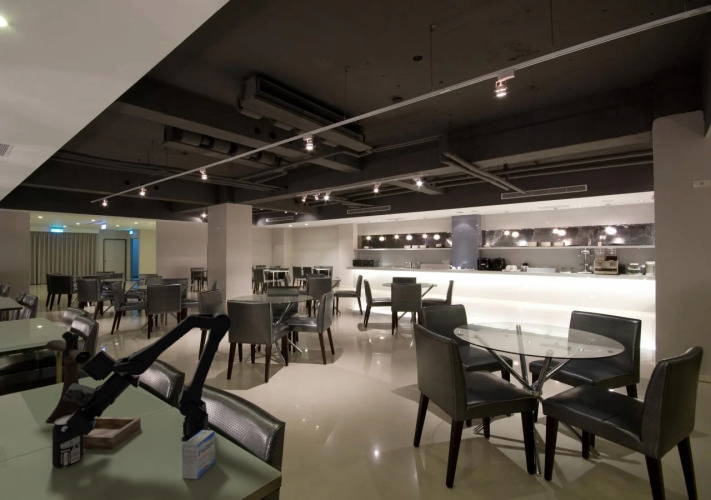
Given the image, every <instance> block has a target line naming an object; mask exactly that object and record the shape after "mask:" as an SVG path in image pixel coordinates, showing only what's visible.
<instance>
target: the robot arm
mask: <svg viewBox="0 0 711 500" xmlns="http://www.w3.org/2000/svg"><path fill="white" fill-rule="evenodd" d="M231 326H232V320H231V318H230V316H229V314H228V313H227V312H224V311H217V312H215V313H193V312H192V313H190V314H188V315H187V316H186V317H185V318H184V319H182V320H181V321H180V322H179V323H177V324H176V325H175V326H174V327H172V328H171V329H170V330H168V331H167V332H166V333H164V334H163V335H162V336H161V337H159V338H158V339H157V340H155V341H154V342H152V343H151V344H148V345H147V346H144V347H142V348H141V349H138V350H137V351H135V352H133V353H132V354H131V355H129V356H125V357H120V358H118V359H117V360H116V359H115V358H113V357H112V356H110V354H108V353H107V352H106V351H105V350H103V349H100V350H99V351H98V352H97V353H96V354H95V355H94V356H92V357H90V358H89V360H88V361H87V362H86V363H84V364H82V366H81V367H80V368H79V371H81V372H83V373H84V374H85V375H87V376H88V377H90V378H91V379H93V380H94V381H95V382H98V381H99V382H101V380H102V381H104V380H105V379H106V378H107V379H106V380H105V381H104V382H103V383H102V384H99V385H97V386H96V387H95V388H93V387H91V386H87V385H83V384H80V383H79V384H76V383H73V384H72V385H71V386H70V387H69V388H68V390H67V392H66V394H65V396H64V398H63V400H65V401H73V402H78V403H79V405H78V411H75V412H74V413H73V414H72V415H71V416H70V417H69V419H68V420H67V421H66V423H67V424H68V427H67V429H66V430H65V431H64V433H63V434H62V435H61V437H60V438H59V439H58V441H57V442H56V444H57V445H61V444H63V443H65V442H67V441H69V440H71V439H74V438H76V437H78V436H80V435H82V434H84V435H88V434H89V433H90V432H91V431H92V430H93V428H94V427H95V425H96V419H95V418H94V417H102V415H103V414H104V412H105V410H107V408H108V407H110V405H111V406H112V405H113V404H114V403H115V402H116V400H117V398H119V397H120V396H121V395H122V394H123V393H124V392H125V391H126V389H128V388H129V386H133V388H135V389H137V388H139V385H140V378H141V377H140V376H141V375H143V374H145V372H147V371H148V370H149V368H150V367H151V366H152V365H153V364H154V362H156V360H157V359H158V358H159V356H161V355H162V353H164V352H165V351H166V350H168V349H169V348H170V347H172V346H173V345H174V344H175V343H176V342H178V341H179V340H180V339H181V338H182V337H184V336H186V335H187V334H188V333H189V332H190V331H191V330H193V329H207V330H208V335H207V339H206V342H205V345H204V347H203V350H202V352H201V354H200V357H199V360H198V363H197V366H196V367H195V370H194V373H193V376H192V377H191V380H190V381H189V383H188V384H183V385H182V389H181V392H180V393H179V394H178V398H177V405H179V406H178V412H179V413H180V415H182V416H184V418H183V419H184V421H183V422H182V435H183V436H182V437H181V438H180V439H181V441H188V440H189V439H191V438H192V437H193V436H195V435H196V434H197V433H198V432H200V431H201V430H209V431H212V429H211V428H209V413H208V409H207V402H206V401H204V400H203V399H202V396H203V388H204V384H205V382H206V379H207V377H208V374H209V372H210V369H211V366H212V364H213V362H214V359H215V355H216V354H217V351H218V348H219V346H220V343H221V342H222V340H223V339H224V337H225V336H226V334H227V333H228V331H229V329H230V328H231ZM110 374H111V375H110Z"/></svg>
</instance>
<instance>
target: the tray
mask: <svg viewBox="0 0 711 500" xmlns="http://www.w3.org/2000/svg"><path fill="white" fill-rule="evenodd" d="M94 418H95V419H96V425H95V427H94V428H93V430H92V431H91V432H90V433H89V434H88V435H84V434H83V450H107V451H108V450H113V449H115V448H116V447H118V446H119V445H120V444H122V442H124V441H126V440H127V439H128V438H130V437H131V436H133V435H134V434H135V433H137V432H138V431H139V430H141V429H142V428H141V425H142V423H141V417H123V416H122V417H121V416H119V417H117V416H116V417H115V416H100V417H97V416H96V417H94Z"/></svg>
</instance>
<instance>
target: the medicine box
mask: <svg viewBox="0 0 711 500" xmlns="http://www.w3.org/2000/svg"><path fill="white" fill-rule="evenodd" d="M181 455H182V458H181V461H182V462H181V463H182V464H181V466H182V467H181V468H182V469H181V470H182V471H181V473H182V474H181V475H182V476H181V477H182V478H184V479H190V480H199V479H200V477H202V476H203V475H204V473H206V471H207V470H209V468H211V466H213V464H215V462H216V431H214V430H211V431H209V430H201V431H200V432H198V433H197V434H196V435H195V436H193V437H192V438H191V439H189V440H186V441H185V442H184V443H182V445H181Z"/></svg>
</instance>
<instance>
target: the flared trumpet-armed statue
mask: <svg viewBox="0 0 711 500" xmlns="http://www.w3.org/2000/svg"><path fill="white" fill-rule="evenodd" d="M61 338H62V339H63V340H64V341H63V340H60V339H54V340H53V339H52V340H50V341H48V342H47V343H46V344H45V348H46V350H48V351H51V352H62V358H63V359H64V361H63V362H64V363H63V364H64V378H63V379H64V380H63V385H62V388H61V389H62V390H61V394H60V395H61V396H60V398H59V401H58V403H57V404H56V407H55V408H54V410H53V411H52V412H51V414H50V415H49V416H48V418H47V419H46V420H45V423H48V424H50V423H55V421H56V420H57V419H59V418H61V417H64V416H67V415H72V414H73V413H74V412H75V411H78V405H79V403H78V402H73V401H65V400H63V398H64V396H65V394H66V392H67V390H68V388H69V387H70V386H71V385H72V384H73V383H76V384H80V380H79V379H80V378H79V365H84V364H85V363H86V362H88V361H89V360H90V359H91V353H90V351H88V350H80V348H79V339H80V333H73V332H72V331H68V330H67V331H65V332H64V333H62V335H61Z"/></svg>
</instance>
